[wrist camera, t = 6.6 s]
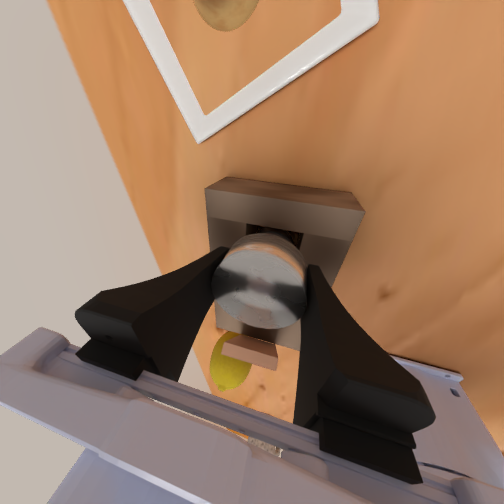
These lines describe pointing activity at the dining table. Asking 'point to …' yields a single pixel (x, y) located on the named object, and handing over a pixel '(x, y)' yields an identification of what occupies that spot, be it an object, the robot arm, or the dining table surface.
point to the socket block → (287, 218)
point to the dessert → (279, 75)
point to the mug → (264, 445)
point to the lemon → (227, 366)
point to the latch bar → (252, 351)
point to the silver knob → (262, 280)
